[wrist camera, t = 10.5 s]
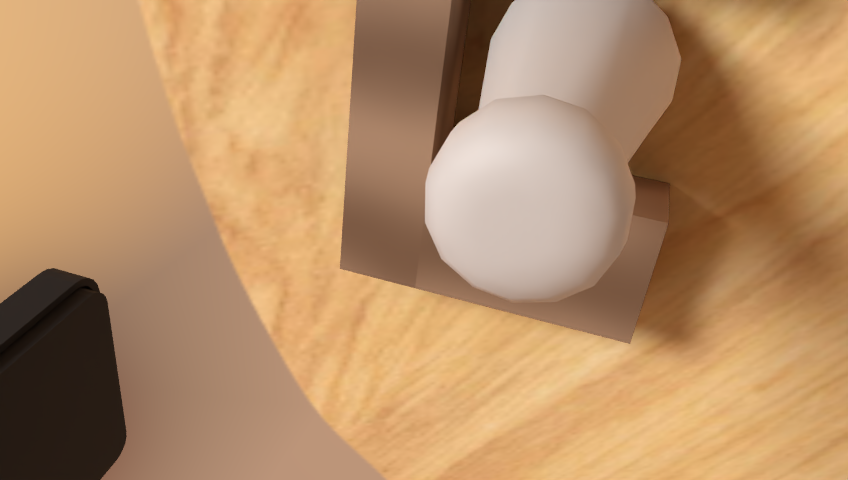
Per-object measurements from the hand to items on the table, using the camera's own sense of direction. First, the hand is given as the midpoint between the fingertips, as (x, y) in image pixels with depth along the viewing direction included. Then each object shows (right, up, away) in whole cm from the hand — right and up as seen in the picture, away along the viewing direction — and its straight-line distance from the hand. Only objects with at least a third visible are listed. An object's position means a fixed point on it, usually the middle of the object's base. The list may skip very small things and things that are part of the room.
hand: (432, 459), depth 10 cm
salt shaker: (+5, +9, +16) cm, 20 cm away
